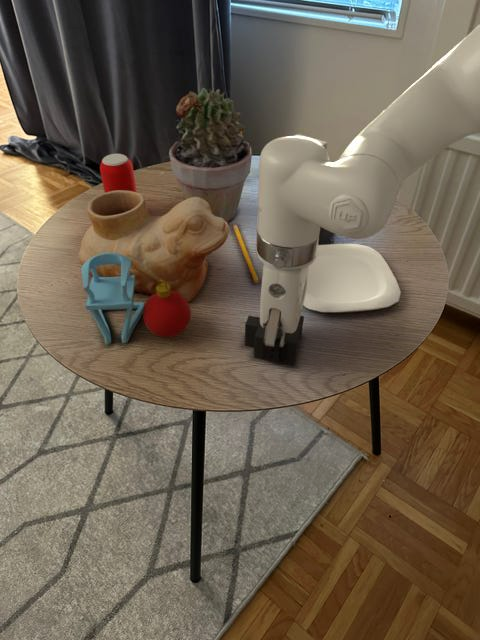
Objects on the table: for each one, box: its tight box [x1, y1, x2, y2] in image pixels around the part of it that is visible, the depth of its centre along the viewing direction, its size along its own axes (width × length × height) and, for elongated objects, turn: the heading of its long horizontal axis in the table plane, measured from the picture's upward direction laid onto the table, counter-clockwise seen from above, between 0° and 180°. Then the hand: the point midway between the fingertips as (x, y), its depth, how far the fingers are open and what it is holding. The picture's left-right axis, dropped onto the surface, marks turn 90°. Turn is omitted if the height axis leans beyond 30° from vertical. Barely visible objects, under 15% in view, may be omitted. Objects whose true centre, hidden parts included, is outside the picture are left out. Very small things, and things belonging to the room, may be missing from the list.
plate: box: [303, 243, 402, 314], centre depth 83 cm, size 18×18×2 cm
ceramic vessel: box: [78, 190, 230, 303], centre depth 80 cm, size 14×26×15 cm, turn 77°
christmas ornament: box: [142, 280, 192, 338], centre depth 72 cm, size 7×7×10 cm
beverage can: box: [99, 153, 138, 193], centre depth 95 cm, size 6×6×12 cm
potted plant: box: [160, 87, 258, 223], centre depth 92 cm, size 18×20×25 cm
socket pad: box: [318, 227, 334, 245], centre depth 92 cm, size 6×6×4 cm
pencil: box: [232, 222, 259, 284], centre depth 90 cm, size 1×18×1 cm, turn 12°
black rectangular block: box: [244, 315, 305, 367], centre depth 71 cm, size 8×6×4 cm
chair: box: [80, 253, 146, 345], centre depth 72 cm, size 8×8×12 cm
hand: (278, 342), depth 72 cm, fingers closed on black rectangular block, 6 cm apart
